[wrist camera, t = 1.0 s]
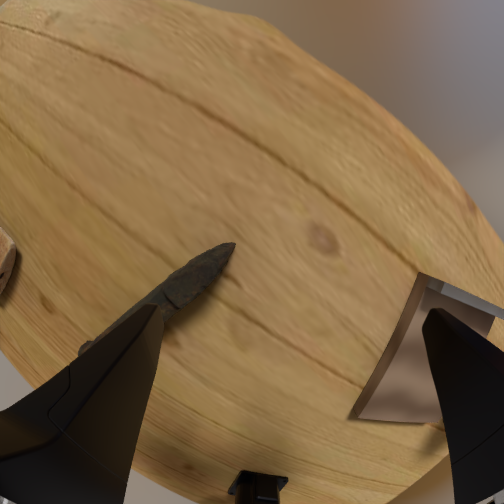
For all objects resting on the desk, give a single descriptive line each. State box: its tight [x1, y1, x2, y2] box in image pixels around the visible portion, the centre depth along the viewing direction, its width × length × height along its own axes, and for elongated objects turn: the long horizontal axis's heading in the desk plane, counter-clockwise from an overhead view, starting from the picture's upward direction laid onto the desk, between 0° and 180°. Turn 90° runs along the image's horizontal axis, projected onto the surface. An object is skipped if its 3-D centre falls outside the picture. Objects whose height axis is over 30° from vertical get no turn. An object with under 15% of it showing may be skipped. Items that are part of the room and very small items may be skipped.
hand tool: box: [78, 242, 236, 356], centre depth 23 cm, size 19×4×5 cm, turn 126°
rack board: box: [353, 272, 504, 423], centre depth 23 cm, size 16×13×4 cm
